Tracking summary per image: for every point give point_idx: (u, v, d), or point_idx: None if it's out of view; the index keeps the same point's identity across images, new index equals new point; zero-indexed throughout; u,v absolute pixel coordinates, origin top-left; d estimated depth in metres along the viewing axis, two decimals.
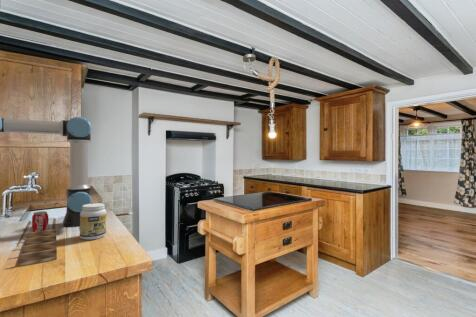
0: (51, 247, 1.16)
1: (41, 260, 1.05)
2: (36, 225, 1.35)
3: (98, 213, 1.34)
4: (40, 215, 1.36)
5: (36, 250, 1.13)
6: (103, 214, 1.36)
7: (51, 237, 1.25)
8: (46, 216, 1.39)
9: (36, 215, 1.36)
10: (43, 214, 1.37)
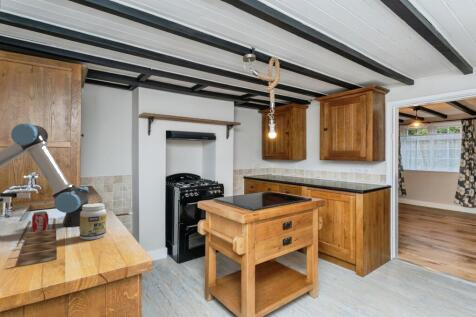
0: (51, 247, 1.16)
1: (41, 260, 1.05)
2: (36, 225, 1.35)
3: (98, 213, 1.34)
4: (40, 215, 1.36)
5: (36, 250, 1.13)
6: (103, 214, 1.36)
7: (51, 237, 1.25)
8: (46, 216, 1.39)
9: (36, 215, 1.36)
10: (43, 214, 1.37)
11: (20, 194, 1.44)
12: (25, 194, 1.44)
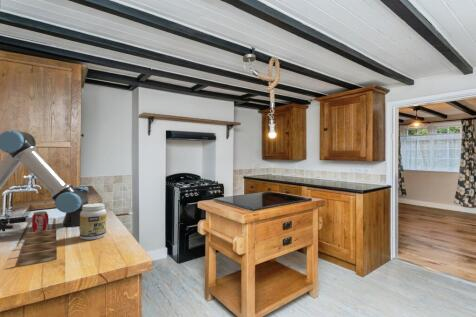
0: (51, 247, 1.16)
1: (41, 260, 1.05)
2: (36, 225, 1.35)
3: (98, 213, 1.34)
4: (40, 215, 1.36)
5: (36, 250, 1.13)
6: (103, 214, 1.36)
7: (51, 237, 1.25)
8: (46, 216, 1.39)
9: (36, 215, 1.36)
10: (43, 214, 1.37)
11: (29, 219, 1.44)
12: None
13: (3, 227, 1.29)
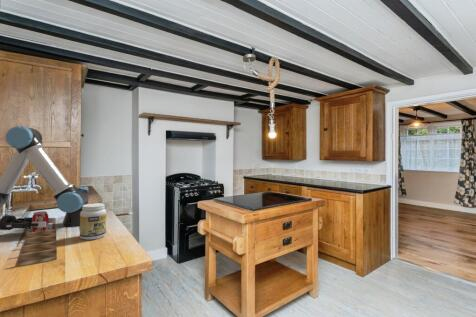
0: (51, 247, 1.16)
1: (41, 260, 1.05)
2: None
3: (98, 213, 1.33)
4: (40, 215, 1.36)
5: (36, 250, 1.13)
6: (103, 214, 1.36)
7: (51, 237, 1.25)
8: (46, 216, 1.39)
9: (36, 215, 1.36)
10: (43, 214, 1.37)
11: None
12: (50, 219, 1.42)
13: (29, 225, 1.33)
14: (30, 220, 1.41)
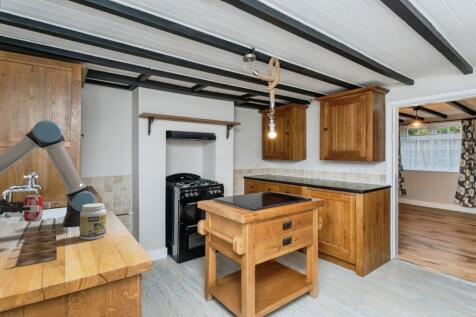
0: (51, 247, 1.16)
1: (41, 260, 1.05)
2: None
3: (98, 213, 1.33)
4: (33, 198, 1.21)
5: (36, 250, 1.13)
6: (103, 214, 1.36)
7: (51, 237, 1.25)
8: (40, 200, 1.24)
9: (28, 198, 1.21)
10: (36, 197, 1.23)
11: None
12: (44, 204, 1.27)
13: (20, 209, 1.18)
14: (23, 204, 1.26)
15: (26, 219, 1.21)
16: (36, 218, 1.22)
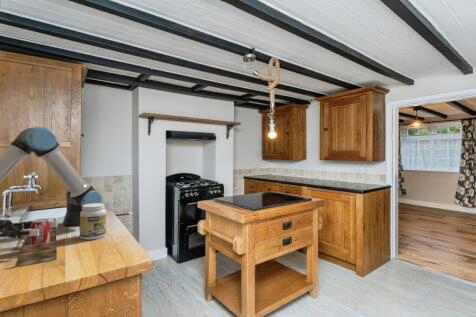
0: (51, 247, 1.16)
1: (41, 260, 1.05)
2: None
3: (98, 213, 1.34)
4: (40, 223, 1.16)
5: (36, 250, 1.13)
6: (103, 214, 1.36)
7: (51, 237, 1.25)
8: (47, 224, 1.18)
9: (35, 223, 1.15)
10: (44, 222, 1.17)
11: None
12: (52, 223, 1.24)
13: (18, 233, 1.09)
14: (29, 224, 1.21)
15: None
16: None
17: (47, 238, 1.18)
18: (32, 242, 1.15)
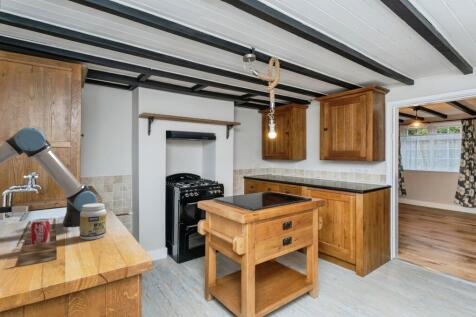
0: (51, 247, 1.16)
1: (41, 260, 1.05)
2: (35, 235, 1.15)
3: (98, 213, 1.34)
4: (40, 223, 1.16)
5: (36, 250, 1.13)
6: (103, 214, 1.36)
7: (51, 237, 1.25)
8: (47, 224, 1.18)
9: (35, 223, 1.15)
10: (44, 222, 1.17)
11: (16, 208, 1.23)
12: (21, 208, 1.23)
13: None
14: None
15: None
16: None
17: (47, 238, 1.18)
18: (32, 242, 1.15)
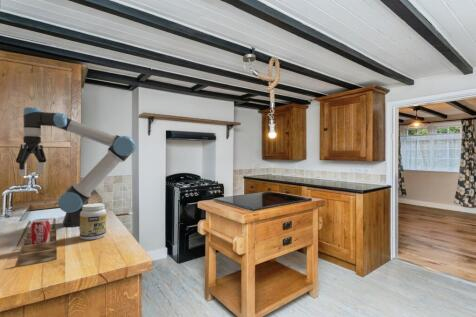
0: (51, 247, 1.16)
1: (41, 260, 1.05)
2: (35, 235, 1.15)
3: (98, 213, 1.33)
4: (40, 223, 1.16)
5: (36, 250, 1.13)
6: (103, 214, 1.36)
7: (51, 237, 1.25)
8: (47, 224, 1.18)
9: (35, 223, 1.15)
10: (44, 222, 1.17)
11: (41, 165, 1.49)
12: (41, 170, 1.49)
13: (20, 163, 1.34)
14: (38, 155, 1.47)
15: None
16: None
17: (47, 238, 1.18)
18: (32, 242, 1.15)
